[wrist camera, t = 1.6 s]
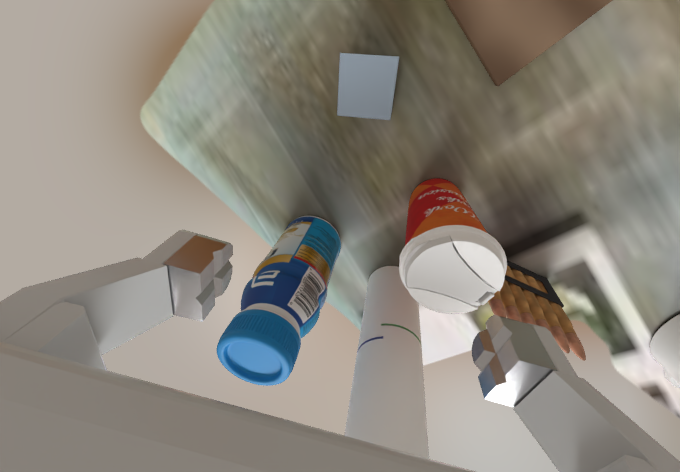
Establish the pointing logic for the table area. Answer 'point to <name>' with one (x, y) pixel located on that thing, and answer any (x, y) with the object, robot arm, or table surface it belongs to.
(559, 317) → the ammunition clip
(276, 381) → the beverage bottle
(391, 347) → the cylindrical container
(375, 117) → the slate cube
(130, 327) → the robot arm
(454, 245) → the coffee cup
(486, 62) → the brown rippled cloth
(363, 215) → the table surface
